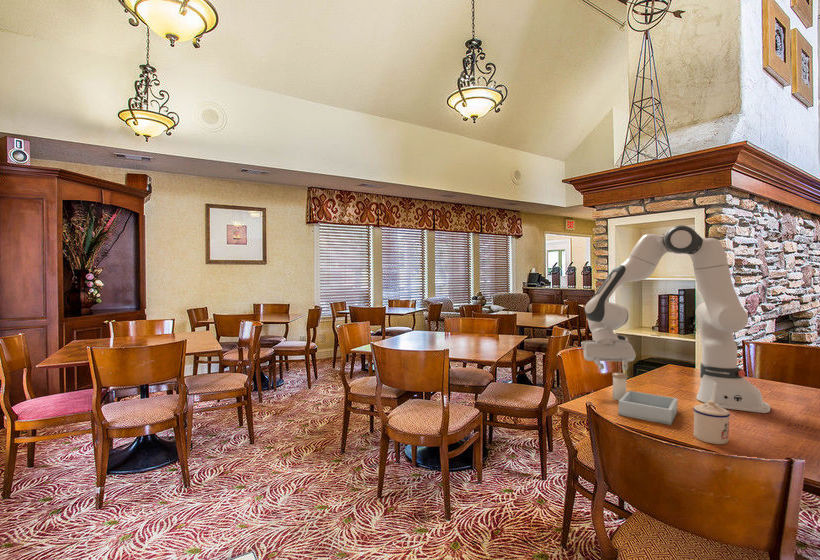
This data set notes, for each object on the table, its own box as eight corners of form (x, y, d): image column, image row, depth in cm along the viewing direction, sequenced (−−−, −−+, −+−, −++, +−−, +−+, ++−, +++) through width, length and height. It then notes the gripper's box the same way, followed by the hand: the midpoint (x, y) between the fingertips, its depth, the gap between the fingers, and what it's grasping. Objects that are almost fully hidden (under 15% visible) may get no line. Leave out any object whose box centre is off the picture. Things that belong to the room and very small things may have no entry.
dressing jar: (628, 398, 169) (628, 373, 169) (625, 401, 165) (625, 376, 164) (613, 396, 172) (614, 371, 172) (610, 399, 168) (611, 374, 168)
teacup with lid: (729, 447, 123) (730, 408, 122) (692, 440, 128) (692, 402, 128) (728, 434, 133) (729, 397, 132) (693, 428, 138) (694, 392, 138)
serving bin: (677, 412, 153) (677, 398, 153) (670, 425, 140) (671, 410, 140) (628, 403, 163) (628, 390, 163) (618, 414, 150) (618, 400, 150)
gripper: (581, 336, 181) (589, 364, 172) (631, 337, 180) (641, 365, 171) (578, 344, 186) (585, 372, 177) (626, 345, 185) (636, 373, 175)
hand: (613, 369), depth 174 cm, fingers open, 8 cm apart
